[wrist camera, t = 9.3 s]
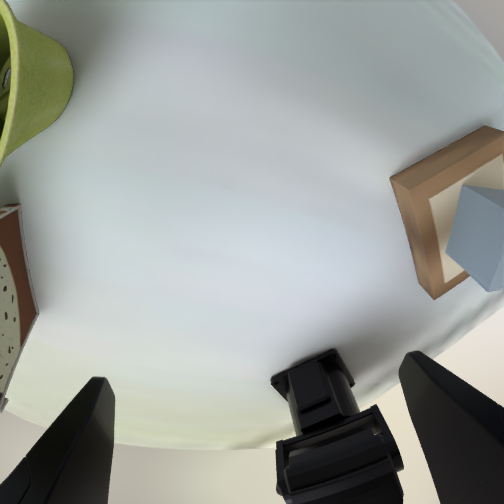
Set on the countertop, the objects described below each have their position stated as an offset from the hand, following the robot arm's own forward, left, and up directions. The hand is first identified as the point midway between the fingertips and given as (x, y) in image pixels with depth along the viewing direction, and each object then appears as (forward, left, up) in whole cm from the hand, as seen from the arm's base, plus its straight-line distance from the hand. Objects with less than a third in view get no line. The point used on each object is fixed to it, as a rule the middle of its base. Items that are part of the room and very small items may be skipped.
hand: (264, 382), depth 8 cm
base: (-8, -15, -12) cm, 21 cm away
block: (-8, -15, -10) cm, 20 cm away
